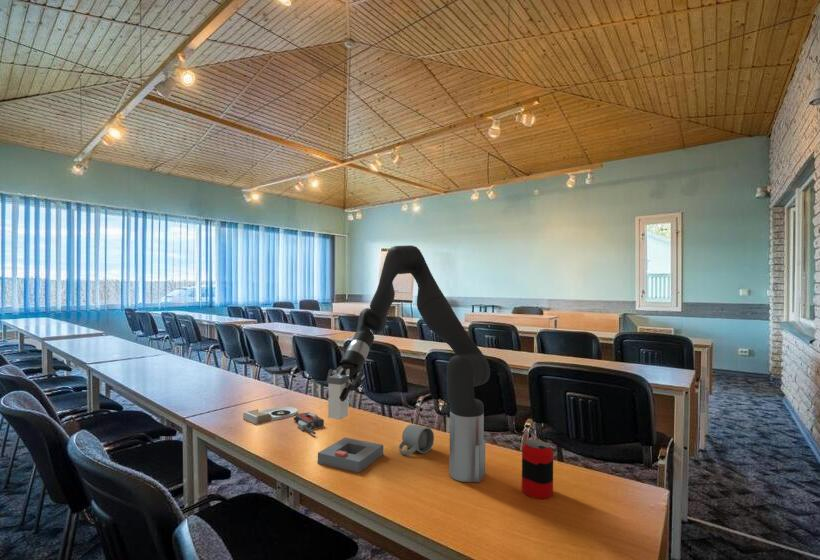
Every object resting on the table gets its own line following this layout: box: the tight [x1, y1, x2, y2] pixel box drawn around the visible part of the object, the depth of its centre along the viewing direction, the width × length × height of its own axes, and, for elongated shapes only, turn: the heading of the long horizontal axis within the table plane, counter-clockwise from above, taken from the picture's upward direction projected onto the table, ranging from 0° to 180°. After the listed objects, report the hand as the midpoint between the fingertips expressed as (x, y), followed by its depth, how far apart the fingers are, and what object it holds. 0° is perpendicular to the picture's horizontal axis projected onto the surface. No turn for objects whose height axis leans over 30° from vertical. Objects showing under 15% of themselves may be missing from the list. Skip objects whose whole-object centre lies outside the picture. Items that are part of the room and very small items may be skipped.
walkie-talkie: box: [293, 411, 325, 435], centre depth 151 cm, size 9×4×20 cm
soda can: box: [521, 439, 554, 500], centre depth 105 cm, size 8×8×12 cm
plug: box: [327, 374, 349, 420], centre depth 134 cm, size 5×5×13 cm
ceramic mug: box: [398, 423, 435, 456], centre depth 130 cm, size 11×8×8 cm
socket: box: [317, 436, 384, 474], centre depth 123 cm, size 14×14×4 cm
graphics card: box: [242, 406, 298, 425], centre depth 163 cm, size 12×3×20 cm
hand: (334, 398), depth 132 cm, fingers closed on plug, 4 cm apart
